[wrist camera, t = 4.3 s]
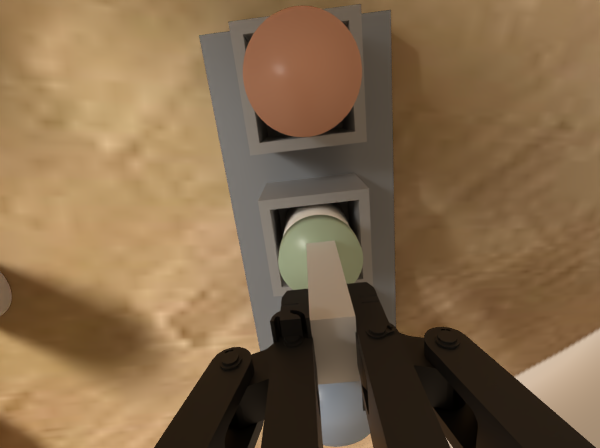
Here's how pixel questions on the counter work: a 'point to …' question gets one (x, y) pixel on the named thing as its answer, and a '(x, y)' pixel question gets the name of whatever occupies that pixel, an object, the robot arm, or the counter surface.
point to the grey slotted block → (307, 163)
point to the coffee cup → (4, 294)
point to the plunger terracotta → (302, 71)
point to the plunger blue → (342, 413)
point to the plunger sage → (317, 228)
